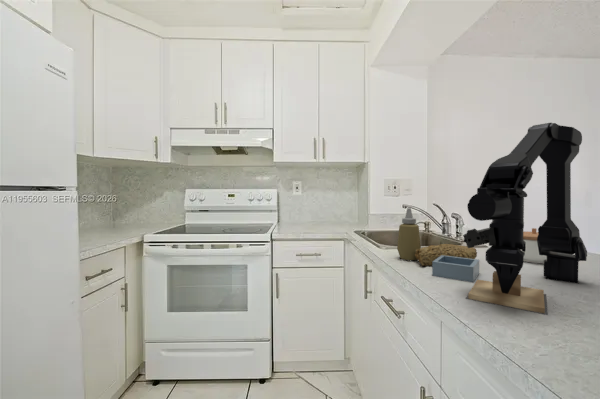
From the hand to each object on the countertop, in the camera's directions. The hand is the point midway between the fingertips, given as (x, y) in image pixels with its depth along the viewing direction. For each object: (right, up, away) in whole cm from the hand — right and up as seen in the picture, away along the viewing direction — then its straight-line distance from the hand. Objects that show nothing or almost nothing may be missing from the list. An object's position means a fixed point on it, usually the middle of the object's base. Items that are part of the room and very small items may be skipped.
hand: (506, 287), depth 66 cm
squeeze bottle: (-8, -2, +39) cm, 39 cm away
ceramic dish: (-2, -2, +17) cm, 18 cm away
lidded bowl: (+33, -1, +34) cm, 47 cm away
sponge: (+2, -2, +31) cm, 31 cm away
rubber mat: (0, -3, 0) cm, 3 cm away
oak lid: (0, -2, 0) cm, 2 cm away
